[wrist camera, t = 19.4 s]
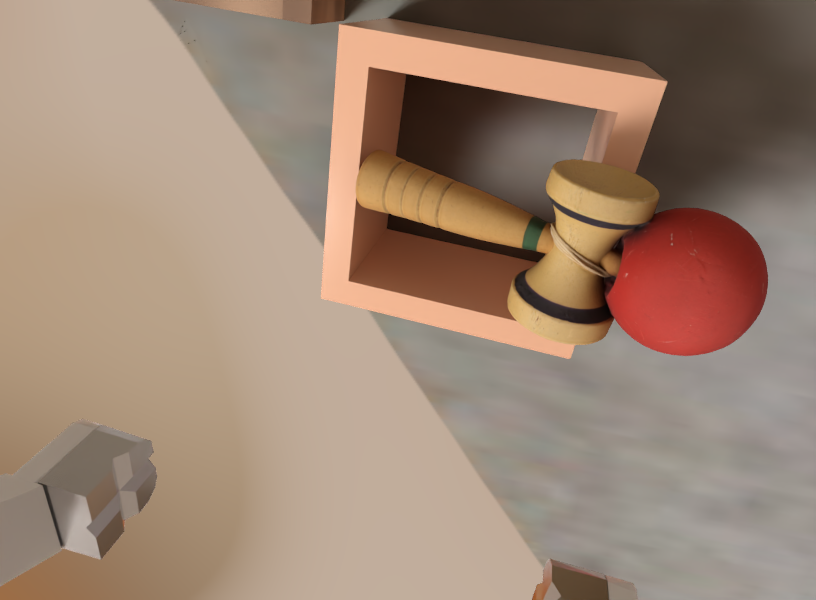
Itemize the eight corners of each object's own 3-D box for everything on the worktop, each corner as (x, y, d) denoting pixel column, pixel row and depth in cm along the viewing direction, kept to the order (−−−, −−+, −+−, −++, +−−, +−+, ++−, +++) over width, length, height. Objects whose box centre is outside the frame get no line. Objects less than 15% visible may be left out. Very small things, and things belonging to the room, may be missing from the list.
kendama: (382, 253, 32) (714, 382, 25) (319, 257, 27) (723, 424, 20) (421, 118, 30) (790, 218, 23) (361, 91, 25) (824, 212, 18)
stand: (641, 61, 29) (667, 81, 23) (567, 290, 36) (570, 359, 30) (387, 18, 31) (339, 24, 24) (363, 244, 38) (320, 298, 31)
